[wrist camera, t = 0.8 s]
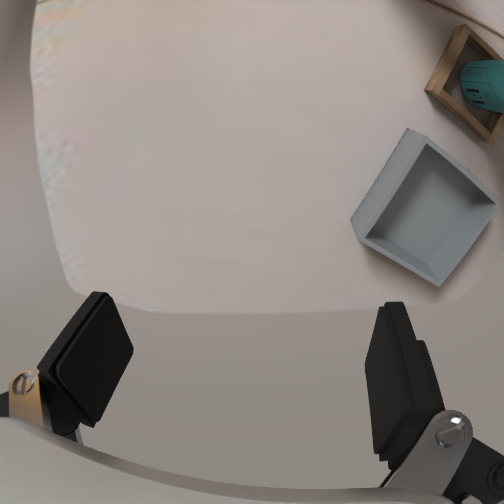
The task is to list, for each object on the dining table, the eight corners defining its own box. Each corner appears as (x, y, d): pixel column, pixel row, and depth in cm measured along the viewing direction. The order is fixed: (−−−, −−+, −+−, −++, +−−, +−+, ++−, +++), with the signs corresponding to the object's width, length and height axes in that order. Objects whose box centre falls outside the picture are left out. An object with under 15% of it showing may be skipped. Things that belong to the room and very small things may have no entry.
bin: (407, 127, 31) (424, 135, 26) (480, 187, 33) (500, 202, 28) (350, 219, 38) (357, 240, 33) (425, 264, 40) (438, 287, 35)
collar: (456, 26, 23) (465, 24, 21) (513, 81, 24) (523, 82, 22) (424, 89, 28) (432, 90, 26) (483, 141, 30) (492, 145, 28)
